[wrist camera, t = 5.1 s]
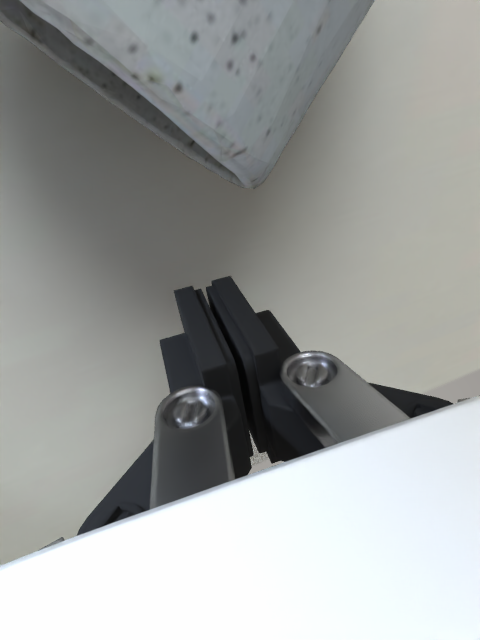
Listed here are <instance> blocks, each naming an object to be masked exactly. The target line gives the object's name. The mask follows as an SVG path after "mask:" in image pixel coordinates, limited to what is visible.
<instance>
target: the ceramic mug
mask: <svg viewBox="0 0 480 640" xmlns="http://www.w3.org/2000/svg"><path fill="white" fill-rule="evenodd" d="M373 2H374V0H0V21H1V22H2V23H4V24H5V25H6V26H7V27H9V28H10V29H12V30H13V31H15V32H16V33H18V34H19V35H21V36H23V37H24V38H26V39H27V40H28V41H30V42H31V43H32V44H34V45H35V46H36V47H38V48H39V49H40V50H42V51H43V52H44V53H45V54H47V55H48V56H49V57H50V58H51V59H53V60H54V61H55V62H56V63H57V64H59V65H60V66H61V67H63V68H64V69H66V70H67V71H68V72H70V73H71V74H73V75H74V76H75V77H77V78H78V79H80V80H81V81H82V82H84V83H85V84H87V85H88V86H89V87H91V88H92V89H94V90H95V91H96V92H98V93H99V94H101V95H102V96H103V97H104V98H106V99H107V100H108V101H109V102H110V103H111V104H113V105H115V106H117V107H118V108H120V109H122V110H123V111H124V112H125V113H126V114H128V115H129V116H131V117H132V118H134V119H135V120H136V121H138V122H139V123H141V124H142V125H144V126H145V127H147V128H148V129H150V130H151V131H152V132H154V133H155V134H156V135H158V136H159V137H160V138H162V139H163V140H165V141H166V142H168V143H169V144H171V145H173V146H174V147H175V148H177V149H178V150H179V151H181V152H182V153H183V154H185V155H186V156H187V157H189V158H190V159H193V160H195V161H196V162H198V163H200V164H202V165H203V166H204V167H206V168H207V169H208V170H210V171H212V172H214V173H216V174H218V175H220V176H221V178H224V179H227V180H228V181H229V182H231V183H234V184H237V185H238V186H240V187H242V188H254V189H255V188H256V187H257V186H259V185H260V184H261V183H263V182H264V181H265V179H266V178H267V177H268V175H269V173H270V172H271V170H272V169H273V167H274V165H275V164H276V162H277V160H278V158H279V157H280V155H281V153H282V151H283V149H284V148H285V146H286V144H287V143H288V141H289V140H290V138H291V136H292V135H293V133H294V132H295V130H296V128H297V127H298V125H299V124H300V122H301V120H302V119H303V117H304V115H305V113H306V111H307V109H308V107H309V106H310V104H311V103H312V101H313V99H314V97H315V96H316V94H317V93H318V91H319V89H320V88H321V86H322V85H323V83H324V81H325V80H326V78H327V77H328V75H329V74H330V72H331V71H332V69H333V68H334V66H335V65H336V63H337V61H338V60H339V58H340V56H341V55H342V53H343V51H344V49H345V47H346V46H347V45H348V43H349V42H350V40H351V38H352V36H353V35H354V33H355V31H356V30H357V28H358V27H359V25H360V24H361V22H362V20H363V19H364V17H365V16H366V14H367V12H368V10H369V9H370V7H371V5H372V4H373Z"/></svg>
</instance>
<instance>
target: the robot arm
mask: <svg viewBox="0 0 480 640" xmlns="http://www.w3.org/2000/svg"><path fill="white" fill-rule="evenodd" d="M206 291H207V296H208V301H209V305H210V307H209V305H208V303H207V301H206V299H205V297H204V294H203V292H202V290H201V289H198V290H194V289H193V286H189V287H186V288H182V289H178V290H174V294H175V298H176V302H177V305H178V309H179V313H180V317H181V321H182V324H183V328H184V332H185V333H183V334H179V335H176V336H172V337H169V338H165V339H161V340H160V346H161V350H162V355H163V360H164V365H165V369H166V374H167V379H168V383H169V388H170V393H171V394H169V395H168V396H167V397H166V398H164V399H163V400H162V402H161V403H160V405H159V406H158V408H157V411H156V415H155V431H154V440H153V441H152V442H151V444H150V445H149V446H148V447H147V448H146V449H145V451H144V452H143V453H142V454H141V455H140V456H139V458H138V459H137V460H136V461H135V462H134V463H133V465H132V466H131V467H130V468H129V469H128V470H127V472H126V473H125V474H124V475H123V476H122V477H121V479H120V480H119V481H118V482H117V483H116V485H115V486H114V487H113V488H112V489H111V490H110V492H109V493H108V494H107V495H106V496H105V497H104V499H103V500H102V501H101V502H100V503H99V504H98V506H97V507H96V508H95V509H94V510H93V511H92V513H91V514H90V515H89V516H88V517H87V519H86V520H85V522H84V523H83V525H82V526H81V527H80V529H79V532H78V534H77V536H75V537H73V538H70V539H67V540H64V538H63V537H61V538H59V539H58V540H56V541H54V542H52V543H50V544H49V545H47V546H45V547H43V548H42V549H40V550H38V551H36V552H34V553H31V554H29V555H26V556H24V557H21V558H19V559H16V560H14V561H11V562H9V563H6V564H4V565H1V566H0V640H480V395H479V396H476V397H473V398H466V399H459V400H458V402H457V403H455V404H453V403H451V402H449V401H446V400H443V399H440V398H436V397H432V396H427V395H423V394H418V393H414V392H409V391H404V390H400V389H395V388H391V387H386V386H381V385H377V384H372V383H368V382H366V381H365V380H364V379H362V378H361V377H360V376H359V375H358V374H356V373H355V372H354V371H353V370H352V369H350V368H349V367H348V366H347V365H346V364H344V363H343V362H342V361H341V360H339V359H338V358H337V357H335V356H333V355H332V354H329V353H326V352H322V351H303V352H300V350H299V349H298V348H297V346H296V345H295V344H294V342H293V341H292V340H291V338H290V337H289V336H288V334H287V333H286V332H285V330H284V329H283V328H282V326H281V325H280V324H279V322H278V321H277V320H276V318H275V317H274V316H273V314H272V313H271V312H270V311H269V310H266V311H262V312H258V313H255V312H254V310H253V309H252V307H251V306H250V304H249V303H248V301H247V300H246V299H245V297H244V296H243V294H242V293H241V291H240V290H239V288H238V287H237V285H236V284H235V282H234V281H233V279H232V278H231V276H228V277H224V278H220V279H216V280H213V281H212V286H209V287H206ZM249 431H250V433H251V435H252V438H253V440H254V443H255V445H256V447H257V450H258V452H259V453H263V452H267V454H268V456H269V459H270V461H271V463H275V462H278V461H284V463H281V464H278V465H275V466H272V467H270V468H267V469H264V470H261V471H258V472H255V473H252V474H249V475H248V473H249V471H250V470H251V468H252V467H251V462H250V457H251V456H253V449H252V444H251V439H250V433H249Z"/></svg>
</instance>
